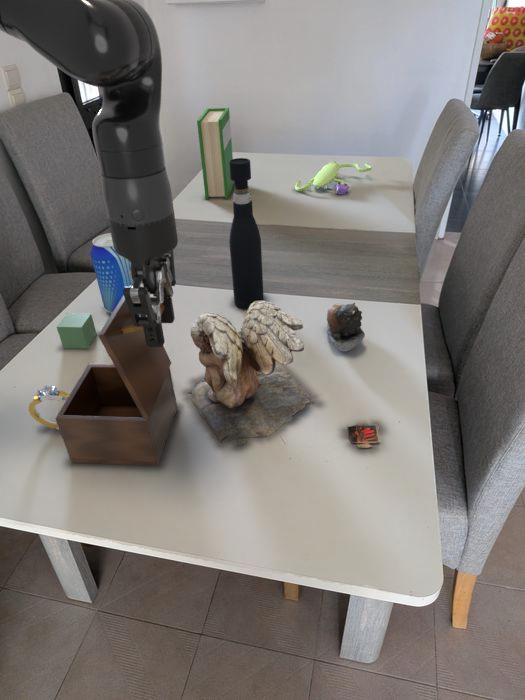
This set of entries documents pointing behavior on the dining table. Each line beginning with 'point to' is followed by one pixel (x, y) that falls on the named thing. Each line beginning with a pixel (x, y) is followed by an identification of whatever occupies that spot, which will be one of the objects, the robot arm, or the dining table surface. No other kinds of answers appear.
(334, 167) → the figurine
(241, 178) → the black bottle
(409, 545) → the dining table surface
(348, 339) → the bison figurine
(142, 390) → the lid
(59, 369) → the dining table surface
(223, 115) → the hardback book
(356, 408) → the dining table surface
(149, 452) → the chest
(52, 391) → the ring
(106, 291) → the beer can
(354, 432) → the matchbox
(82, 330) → the block
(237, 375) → the cherub figurine
